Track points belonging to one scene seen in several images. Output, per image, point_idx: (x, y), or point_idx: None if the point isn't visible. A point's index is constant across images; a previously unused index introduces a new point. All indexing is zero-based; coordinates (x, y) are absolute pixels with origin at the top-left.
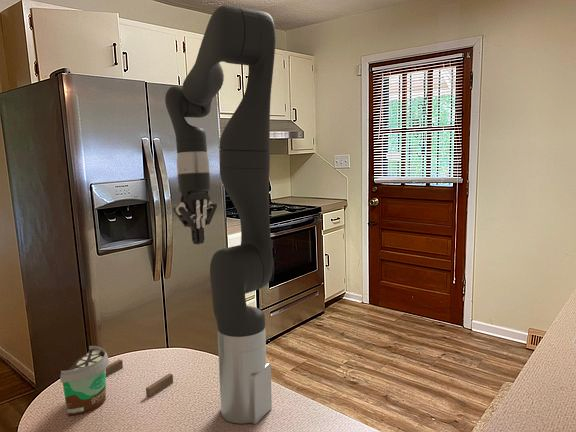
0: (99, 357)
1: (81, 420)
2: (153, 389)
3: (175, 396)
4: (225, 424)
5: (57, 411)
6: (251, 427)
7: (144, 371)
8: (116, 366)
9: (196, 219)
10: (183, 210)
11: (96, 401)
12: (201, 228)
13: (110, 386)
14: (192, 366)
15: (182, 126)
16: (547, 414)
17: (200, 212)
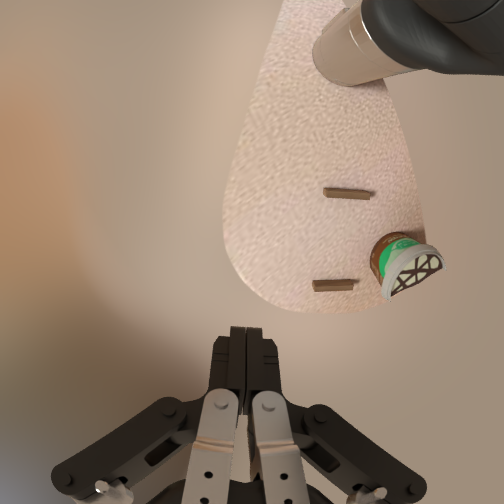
0: (405, 268)
1: (414, 229)
2: (362, 192)
3: (351, 161)
4: None
5: None
6: None
7: (310, 248)
8: (324, 283)
9: (293, 443)
10: (406, 484)
11: (401, 234)
12: (232, 392)
13: (356, 257)
14: (269, 194)
15: None
16: None
17: (234, 486)
